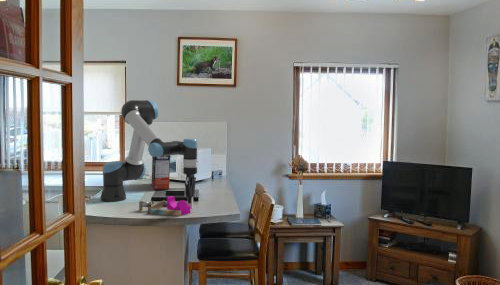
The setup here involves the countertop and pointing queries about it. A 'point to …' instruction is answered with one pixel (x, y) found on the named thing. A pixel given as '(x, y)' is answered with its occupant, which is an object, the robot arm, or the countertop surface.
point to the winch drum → (145, 205)
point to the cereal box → (160, 172)
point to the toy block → (177, 205)
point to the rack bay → (156, 209)
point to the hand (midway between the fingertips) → (190, 208)
